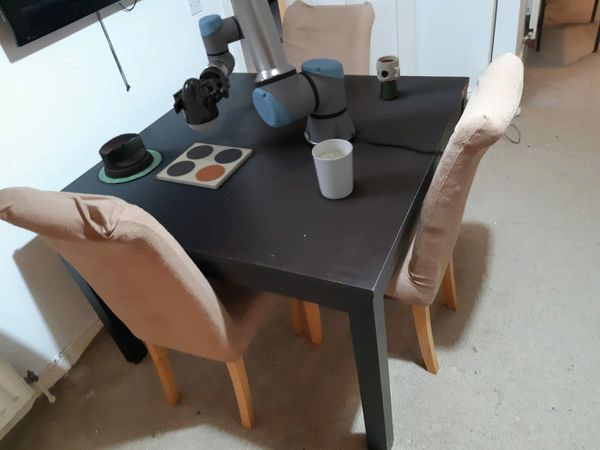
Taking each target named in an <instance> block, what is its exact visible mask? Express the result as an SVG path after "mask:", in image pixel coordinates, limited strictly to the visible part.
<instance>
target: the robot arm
mask: <svg viewBox="0 0 600 450" xmlns="http://www.w3.org/2000/svg"><path fill="white" fill-rule="evenodd" d="M231 3H232V5H233V8H234V11H235V15H231V16H228V17H224V18H222V16H221V15H220V14H217V13H215V14H209V15H205V16H202V17H200V18H199V20H198V28H199V32H200V33H199V34H200V37H201V39H202V43H203V46H204V50H205V54H206V58H207V61H208V63H207V64H206V66H205V67H204V69H203V70H202V72H201V73H200V75H199V78H198V79H199V80H200V81H201V82H204V81H206V80H209V81H210V83H209V84H208V85H206V87H207V89H208V90H209V92H210V93H211V96H210V98H209V99H208V101H207V103H208V107H209V110H210V111H212V110H213V108H214V107H215V105H217V104H219V103H220V102H221V101H222V100H223V98H224V99H229V98H230V88H231V82H230V79H229V77H230V76H231V74H232V73H233V72H234V70H235V66H236V59H235V57H234V55H233V54H232V53H231V52H230V48H229V44H232V43H235V42H238V41H242V40H244V39H245V42H246V45H247V48H248V50H249V54H250V57H251V59H252V62H253V65H254V67H255V70H256V77H255V79H254V84H255V89H254V90H253V91H252V94H251V95H252V102H253V105H254V108H255V110H256V111H257V113H258V115H259V116H260V117H261V119H262V120H263V121H264V123H266V124H267V125H268V126H270V127H271V128H275V129H276V128H277V129H279V128H282V127H284V126H287V125H288V126H289V125H291V124H292V123H294V122H297V121H298V120H302V119H303V118H305V117H307V122H306V127H305V131H304V134H303V136H304V137H305V141H306V144H307V145H309V146H311V147H313V148H314V147H315V146H316V145H317V144H319V143H321V142H323V141H326V140H331V139H341V140H346V141H348V142H350V143H351V141H353V140H354V138H358V139H361V140H363V141H367V142H368V143H371V144H373V145H380V146H392V147H394V146H395V147H400V148H406V149H409V150H412V151H416V152H420V153H425V154H435V153H436V154H439V155H441V156H443V155H442V154H443V153H444V152H443V151H441V150H439V149H423V148H417V147H414V146H411V145H407V144H402V143H397V142H383V141H382V142H381V141H376V140H372V139H370V138H367V137H365V136H362V135H359V134H356V126H355V124H354V123H353V120H352V118H351V116H350V113H349V112H348V105H347V93H346V83H345V82H346V80H345V79H346V76H345V71H344V66H343V63H341V62H340V61H339V60H337V59H332V58H311V59H308V60H305V61H303V62H302V63H301V64H300V70H301V71H299V72H298V71H297V69H296V66H294V65H292V64H291V63H289V62H288V59H287V56H286V53H285V49H284V46H283V44H282V41H281V38H280V34H279V32H278V31H279V30H278V29H277V26H276V23H275V20H274V19H275V18H274V16H273V13H272V10H271V7H270V4H269V1H268V0H231ZM182 90H183V87H182V88H180V89H179V90H178V91H176V92H174V94H172V97H173V99H174V103H173V104H172V106H173V110H174V111H175V114H176V115H178V114H180V113H181V111H183V108H182Z"/></svg>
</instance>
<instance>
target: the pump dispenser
mask: <svg viewBox="0 0 600 450" xmlns="http://www.w3.org/2000/svg"><path fill="white" fill-rule="evenodd" d="M209 83H210V81H209V80H206V81H204V82H201V81H200V80H199V78H197V77H189V78H187V79H186V80H185V81H184V82H183V85H182V88H183V90H182V108H183V109H182V113H183V118H184V121H185V123H186V124H187V126H189V127H190V129H192V130H193V131H196V132H201V133H204V132H209V131H211V130H213V129H214V128H215V127H216V126H217V125H218V122H219V118H220V110H219V107H218V105H217V104H216V105H215V107H214V108H213V110H212V111H210V110H209V107H208V103H207V101H208V99H209V98H210V96H211V95H212V93H210V92H209V90H208V89H207V87H206V85H208V84H209Z"/></svg>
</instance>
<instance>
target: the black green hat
mask: <svg viewBox="0 0 600 450" xmlns="http://www.w3.org/2000/svg"><path fill="white" fill-rule="evenodd" d="M98 155H99V156H100V158H101V160H102V163H103V164H104V166H103V167H102V168H101V169H100V170H99V172H98V178H99V180H100V181H102V182H104V183H107V184H117V183H125V182H128V181H129V182H130V181H132V180H135V179H137V178H141V177H142V176H143V177H144V176H145V175H146V174H147V173H149V172H151V171H152V170H153V169H155V168H157V166H159V164H160V163H161V162H162V155H161V153H160V152H159V151H156V150H153V149H147V147H146V145H145V143H144V141H143V139H142V137H141V135H140V134H139V133H137V132H128V133H126V132H125V133H122V134H119V135H116V136H114V137H112V138H111V139H109V140H108V141H106V142H105V143H104V144H103V145H102V146H101V147H99V150H98Z"/></svg>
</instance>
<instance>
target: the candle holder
mask: <svg viewBox="0 0 600 450" xmlns="http://www.w3.org/2000/svg"><path fill="white" fill-rule="evenodd" d="M353 151H354V147H353V144H352V143H351V141H350V142H348V141H346V140H341V139H331V140H326V141H323V142H321V143H319V144H317V145H316V146H315V147H313V148H312V150H311V155H312V158H313V162H314V167H315V171H316V176H317V181H318V187H319V189H320V192H321V195H322V196H323V197H324V198H327V199H329V200H339V199H345V198H346V197H348V196H349V195H351V193H352V192H353V189H354V157H353Z"/></svg>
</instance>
